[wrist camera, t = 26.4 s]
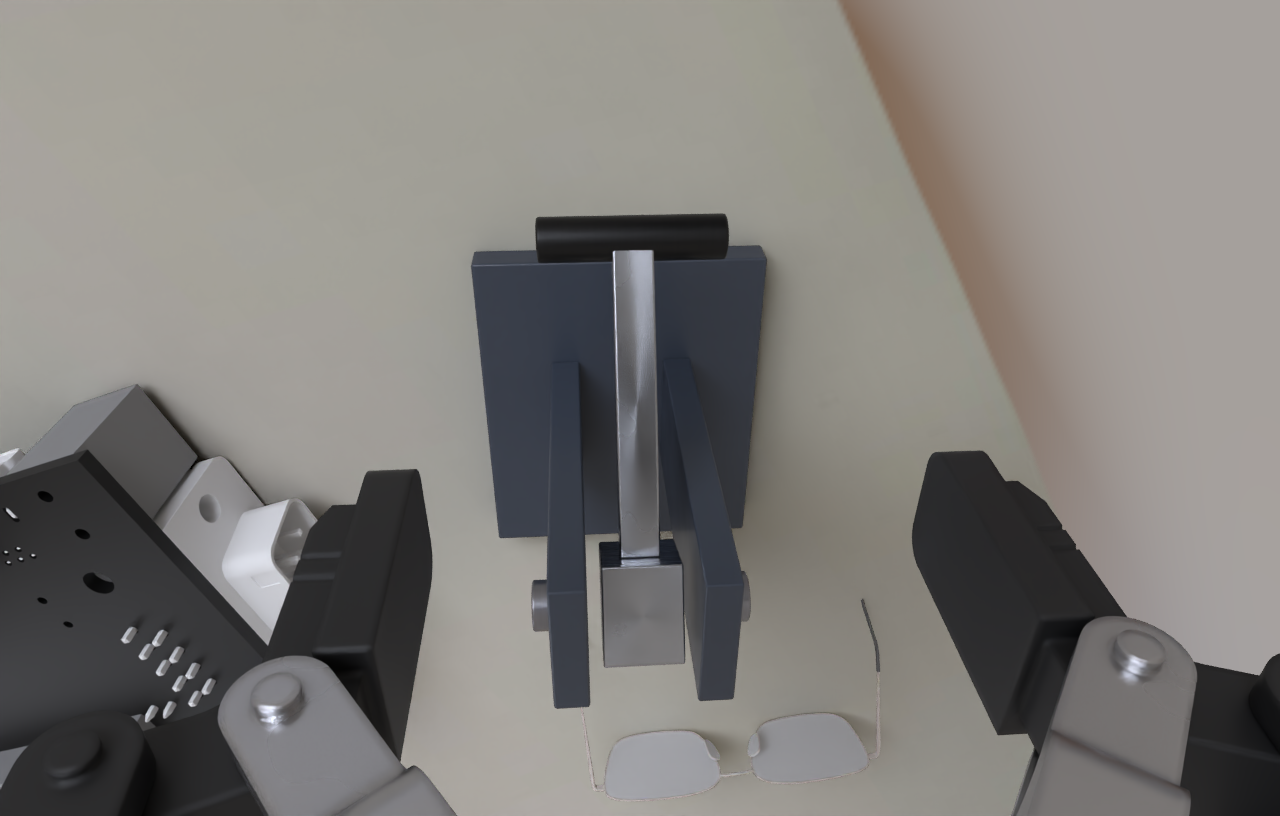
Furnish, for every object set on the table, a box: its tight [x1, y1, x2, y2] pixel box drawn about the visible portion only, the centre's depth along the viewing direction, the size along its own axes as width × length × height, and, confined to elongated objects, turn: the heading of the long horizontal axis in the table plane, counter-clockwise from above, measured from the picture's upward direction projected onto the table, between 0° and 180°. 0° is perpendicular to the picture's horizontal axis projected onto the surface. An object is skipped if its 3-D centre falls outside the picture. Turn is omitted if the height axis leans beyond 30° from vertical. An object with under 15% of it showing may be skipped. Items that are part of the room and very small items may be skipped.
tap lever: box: [535, 214, 729, 668], centre depth 24 cm, size 12×5×2 cm, turn 179°
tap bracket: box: [471, 246, 767, 709], centre depth 29 cm, size 12×10×13 cm
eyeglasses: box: [581, 599, 880, 801], centre depth 42 cm, size 14×8×4 cm, turn 95°
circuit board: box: [0, 384, 318, 789], centre depth 36 cm, size 25×7×15 cm
